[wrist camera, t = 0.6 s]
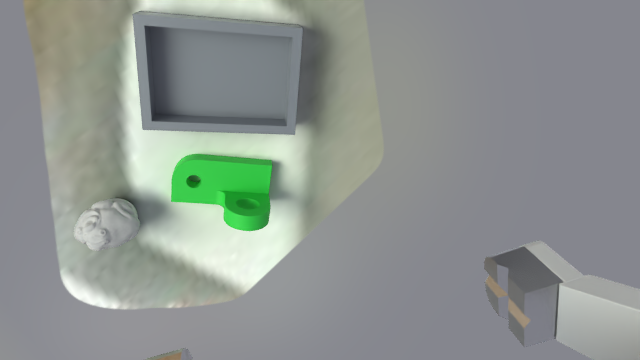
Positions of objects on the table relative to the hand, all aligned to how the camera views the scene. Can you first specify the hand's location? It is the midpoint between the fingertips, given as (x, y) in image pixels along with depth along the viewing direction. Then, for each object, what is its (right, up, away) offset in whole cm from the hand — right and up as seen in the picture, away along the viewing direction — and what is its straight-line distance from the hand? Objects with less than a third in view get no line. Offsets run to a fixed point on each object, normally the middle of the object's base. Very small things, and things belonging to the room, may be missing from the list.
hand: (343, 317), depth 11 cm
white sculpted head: (-26, 0, +43) cm, 50 cm away
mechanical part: (-13, +4, +44) cm, 46 cm away
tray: (-12, +16, +38) cm, 43 cm away
